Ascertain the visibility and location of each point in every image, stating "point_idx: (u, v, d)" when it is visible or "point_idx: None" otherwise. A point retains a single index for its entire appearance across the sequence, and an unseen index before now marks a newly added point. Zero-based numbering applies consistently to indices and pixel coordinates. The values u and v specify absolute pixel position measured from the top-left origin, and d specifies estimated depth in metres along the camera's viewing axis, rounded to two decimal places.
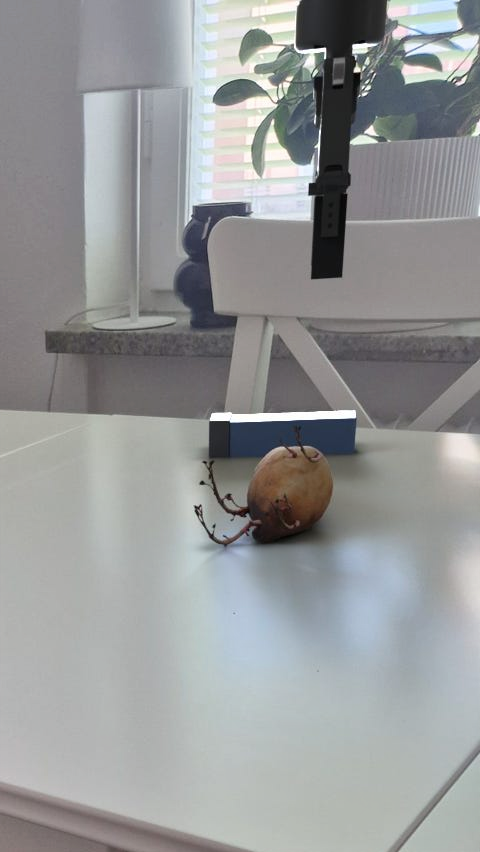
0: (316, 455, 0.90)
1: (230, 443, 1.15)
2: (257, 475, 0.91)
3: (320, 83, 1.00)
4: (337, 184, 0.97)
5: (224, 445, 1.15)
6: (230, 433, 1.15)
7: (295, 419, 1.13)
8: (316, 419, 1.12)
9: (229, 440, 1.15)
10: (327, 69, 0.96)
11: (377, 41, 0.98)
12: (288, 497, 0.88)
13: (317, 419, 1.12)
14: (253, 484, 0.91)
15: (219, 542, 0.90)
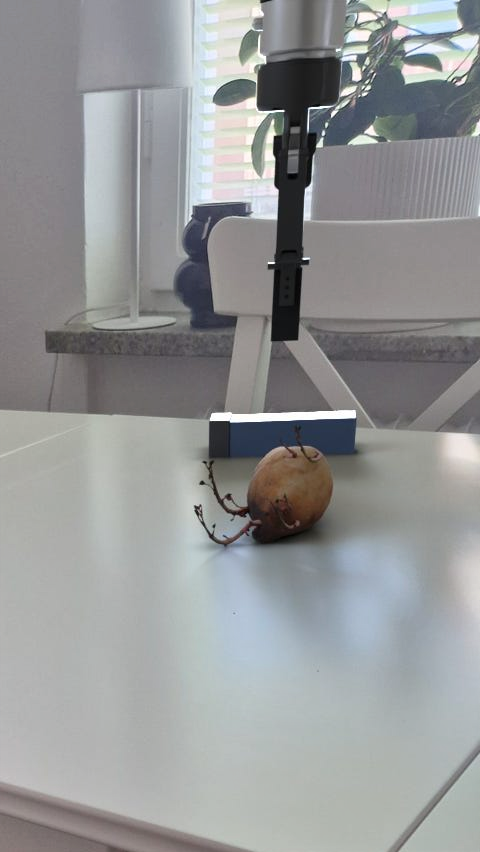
0: (316, 455, 0.90)
1: (230, 443, 1.15)
2: (257, 475, 0.91)
3: (278, 148, 1.08)
4: (292, 262, 1.11)
5: (224, 445, 1.15)
6: (230, 433, 1.15)
7: (295, 419, 1.13)
8: (316, 419, 1.12)
9: (229, 440, 1.15)
10: (282, 164, 1.05)
11: (332, 104, 1.05)
12: (288, 497, 0.88)
13: (317, 419, 1.12)
14: (253, 484, 0.91)
15: (219, 542, 0.90)
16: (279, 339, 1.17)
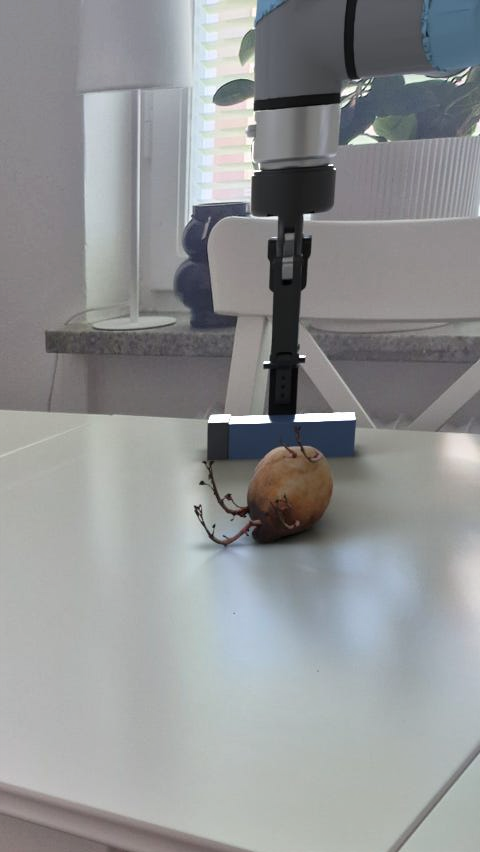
0: (316, 455, 0.90)
1: (229, 445, 1.14)
2: (257, 475, 0.91)
3: (273, 253, 1.07)
4: (287, 363, 1.11)
5: (223, 447, 1.15)
6: (229, 435, 1.14)
7: (294, 421, 1.12)
8: (315, 421, 1.12)
9: (228, 442, 1.14)
10: (276, 271, 1.04)
11: (326, 210, 1.05)
12: (288, 497, 0.88)
13: (316, 421, 1.12)
14: (253, 484, 0.91)
15: (219, 542, 0.90)
16: None
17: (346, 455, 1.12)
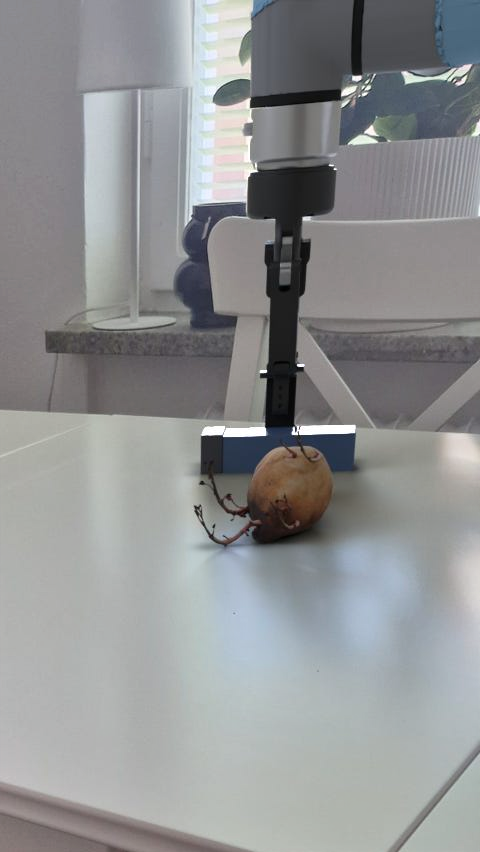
0: (316, 455, 0.90)
1: (223, 459, 1.10)
2: (257, 475, 0.91)
3: (270, 257, 1.02)
4: (285, 373, 1.06)
5: (217, 461, 1.10)
6: (223, 448, 1.09)
7: (291, 434, 1.07)
8: (313, 434, 1.07)
9: (222, 455, 1.10)
10: (274, 277, 0.99)
11: (326, 213, 1.00)
12: (288, 497, 0.88)
13: (314, 434, 1.07)
14: (253, 484, 0.91)
15: (219, 542, 0.90)
16: None
17: (345, 469, 1.08)
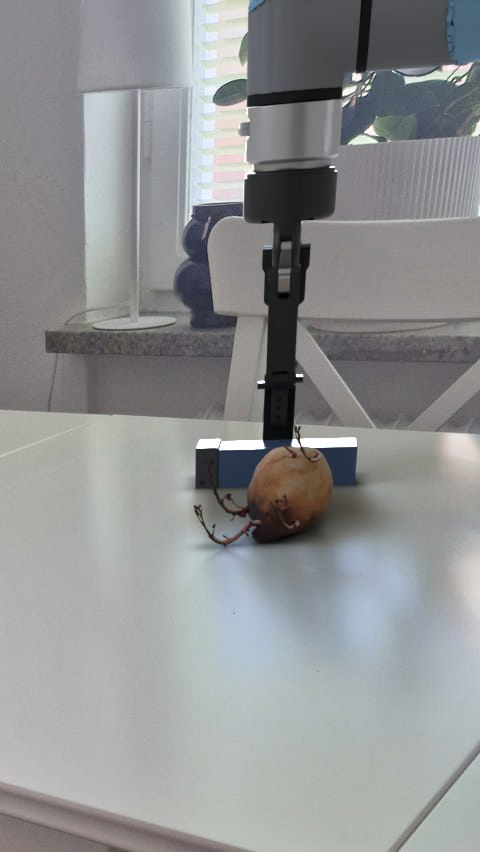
0: (316, 455, 0.90)
1: (219, 473, 1.05)
2: (257, 475, 0.91)
3: (268, 263, 0.98)
4: (284, 383, 1.01)
5: None
6: (219, 462, 1.05)
7: None
8: (313, 447, 1.02)
9: (218, 469, 1.05)
10: (272, 283, 0.95)
11: (327, 217, 0.95)
12: (288, 497, 0.88)
13: (314, 447, 1.02)
14: (253, 484, 0.91)
15: (219, 542, 0.90)
16: None
17: (346, 484, 1.03)
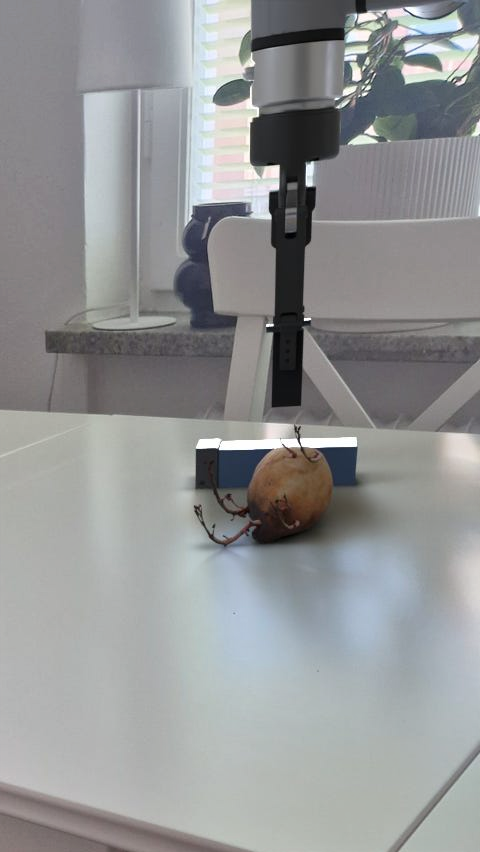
0: (316, 455, 0.90)
1: (219, 473, 1.05)
2: (257, 475, 0.91)
3: (275, 205, 1.00)
4: (292, 325, 1.03)
5: (213, 475, 1.05)
6: (219, 462, 1.05)
7: None
8: (313, 447, 1.02)
9: (218, 469, 1.05)
10: (279, 223, 0.97)
11: (331, 157, 0.97)
12: (288, 497, 0.88)
13: (314, 447, 1.02)
14: (253, 484, 0.91)
15: (219, 542, 0.90)
16: (280, 405, 1.09)
17: (347, 484, 1.03)
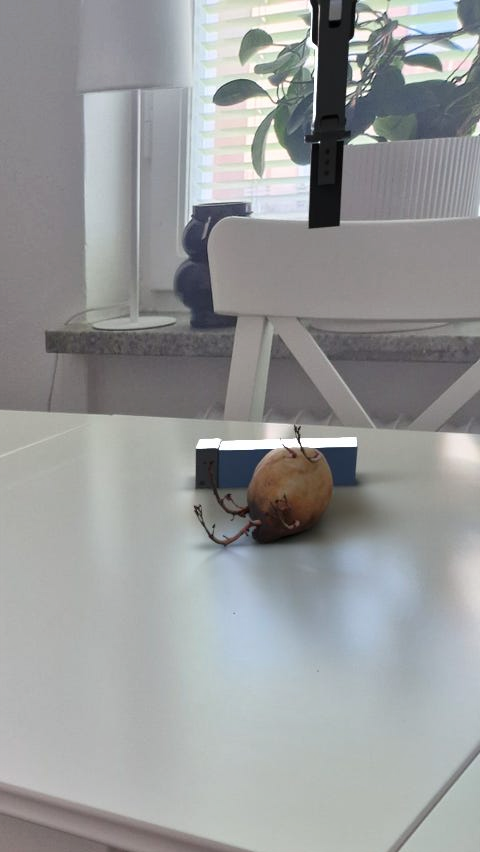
0: (316, 455, 0.90)
1: (219, 473, 1.05)
2: (257, 475, 0.91)
3: None
4: (333, 131, 0.97)
5: (213, 475, 1.05)
6: (219, 462, 1.05)
7: None
8: (313, 447, 1.02)
9: (218, 469, 1.05)
10: (323, 8, 0.91)
11: None
12: (288, 497, 0.88)
13: (314, 447, 1.02)
14: (253, 484, 0.91)
15: (219, 542, 0.90)
16: (318, 225, 1.03)
17: (347, 484, 1.03)
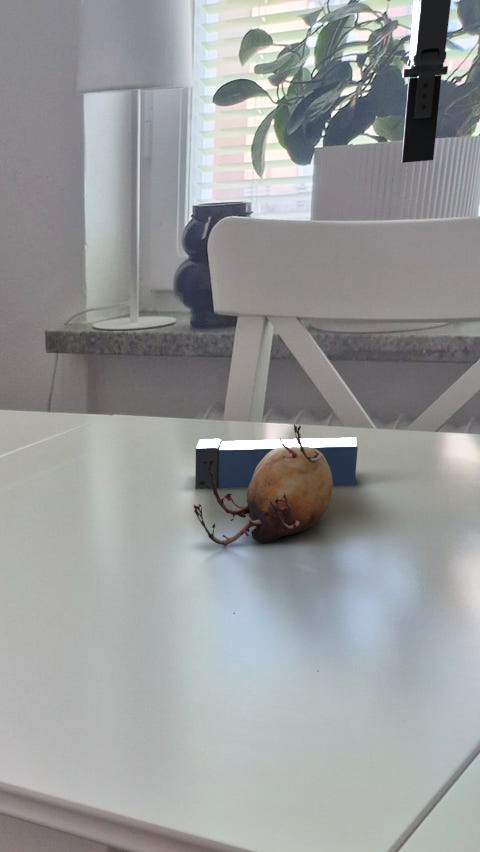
0: (316, 455, 0.90)
1: (219, 473, 1.05)
2: (257, 475, 0.91)
3: None
4: (433, 64, 1.01)
5: (213, 475, 1.05)
6: (219, 462, 1.05)
7: None
8: (313, 447, 1.02)
9: (218, 469, 1.05)
10: None
11: None
12: (288, 497, 0.88)
13: (314, 447, 1.02)
14: (253, 484, 0.91)
15: (219, 542, 0.90)
16: (412, 159, 1.07)
17: (347, 484, 1.03)
